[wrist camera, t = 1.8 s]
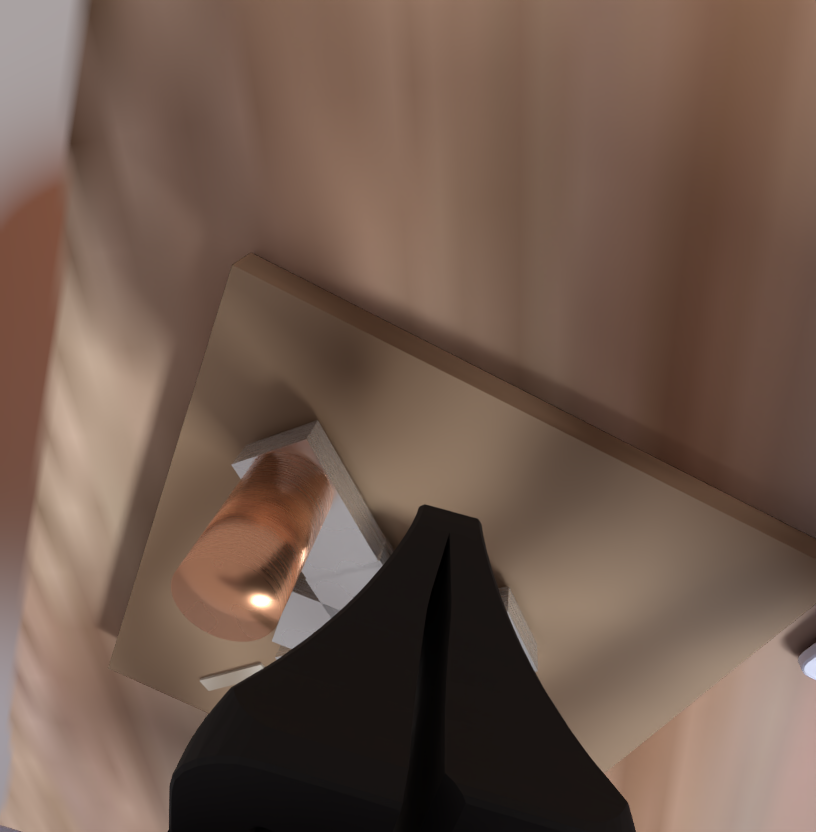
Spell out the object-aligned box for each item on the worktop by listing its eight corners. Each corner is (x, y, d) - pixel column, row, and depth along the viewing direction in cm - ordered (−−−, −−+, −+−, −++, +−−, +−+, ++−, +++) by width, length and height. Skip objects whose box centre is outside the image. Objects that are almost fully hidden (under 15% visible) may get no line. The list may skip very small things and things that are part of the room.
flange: (565, 701, 20) (575, 876, 16) (354, 730, 23) (313, 887, 18) (411, 387, 15) (364, 511, 11) (170, 471, 18) (55, 597, 14)
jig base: (830, 546, 17) (965, 756, 12) (511, 817, 26) (507, 1006, 21) (251, 252, 16) (112, 340, 11) (125, 643, 25) (16, 797, 20)
